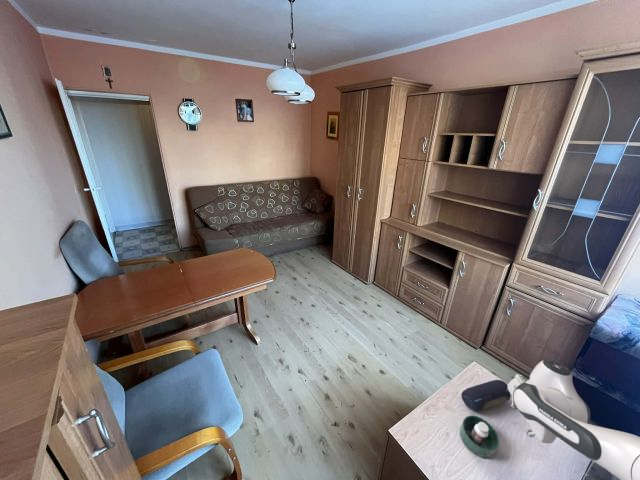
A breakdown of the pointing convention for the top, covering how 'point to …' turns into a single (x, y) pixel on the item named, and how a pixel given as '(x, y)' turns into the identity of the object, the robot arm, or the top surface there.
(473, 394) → the portable speaker
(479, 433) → the pill bottle
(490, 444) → the bowl
